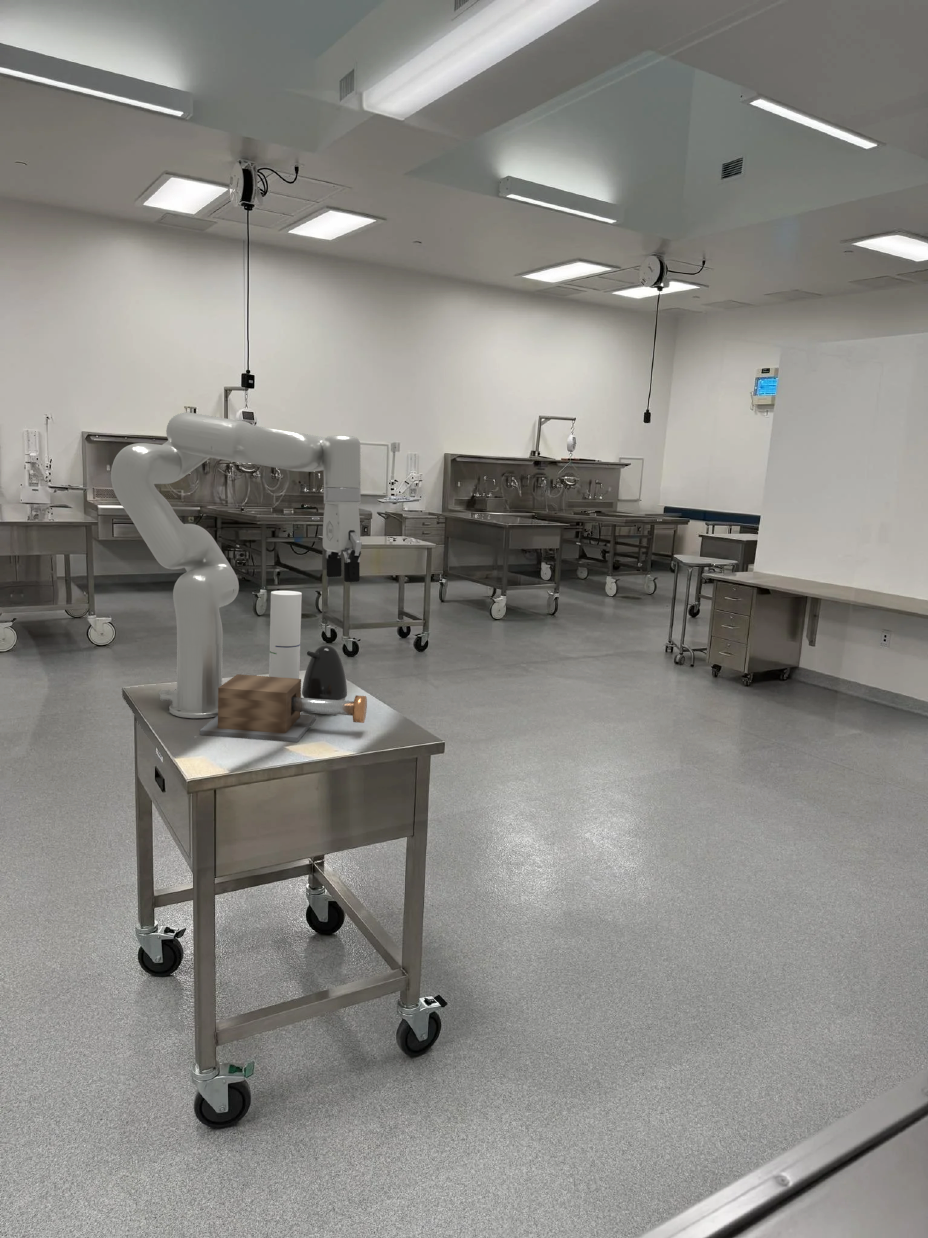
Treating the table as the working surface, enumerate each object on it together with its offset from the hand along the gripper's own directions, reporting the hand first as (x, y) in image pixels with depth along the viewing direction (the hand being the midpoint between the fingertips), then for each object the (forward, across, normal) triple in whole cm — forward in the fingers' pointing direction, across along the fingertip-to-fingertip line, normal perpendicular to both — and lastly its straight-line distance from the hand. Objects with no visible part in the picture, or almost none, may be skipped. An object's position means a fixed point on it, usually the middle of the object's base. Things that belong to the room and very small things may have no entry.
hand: (342, 579), depth 174 cm
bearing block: (+31, -5, -17) cm, 36 cm away
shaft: (+29, +2, -7) cm, 30 cm away
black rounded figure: (+32, -13, 0) cm, 34 cm away
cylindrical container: (+31, -28, -4) cm, 42 cm away
